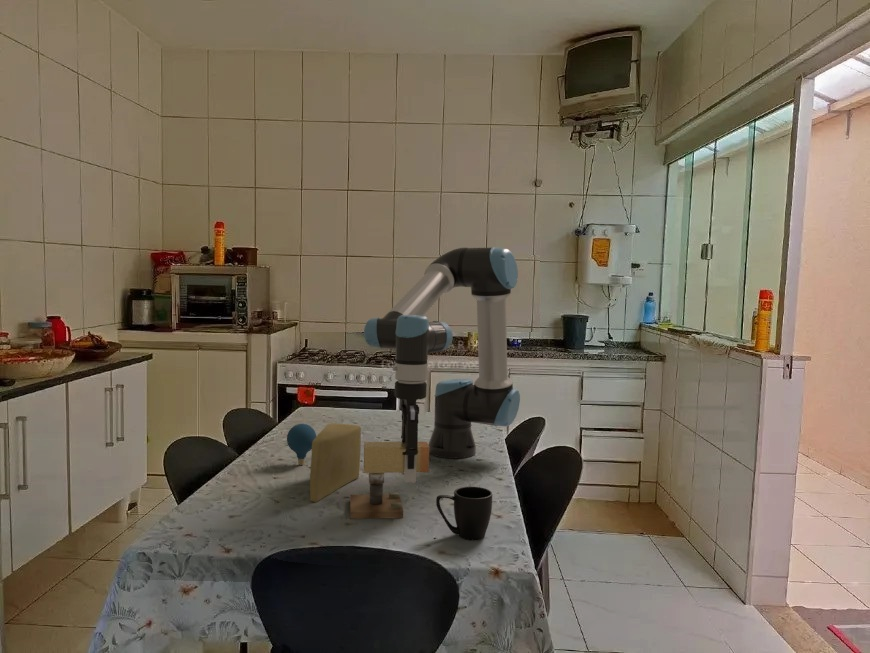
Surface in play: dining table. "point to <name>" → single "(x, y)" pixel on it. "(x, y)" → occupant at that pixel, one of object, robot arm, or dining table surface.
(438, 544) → the dining table surface
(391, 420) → the dining table surface
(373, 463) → the two-tone wooden block
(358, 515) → the wooden base plate
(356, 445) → the cheese
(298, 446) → the light bulb
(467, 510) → the mug
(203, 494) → the dining table surface
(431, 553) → the dining table surface
